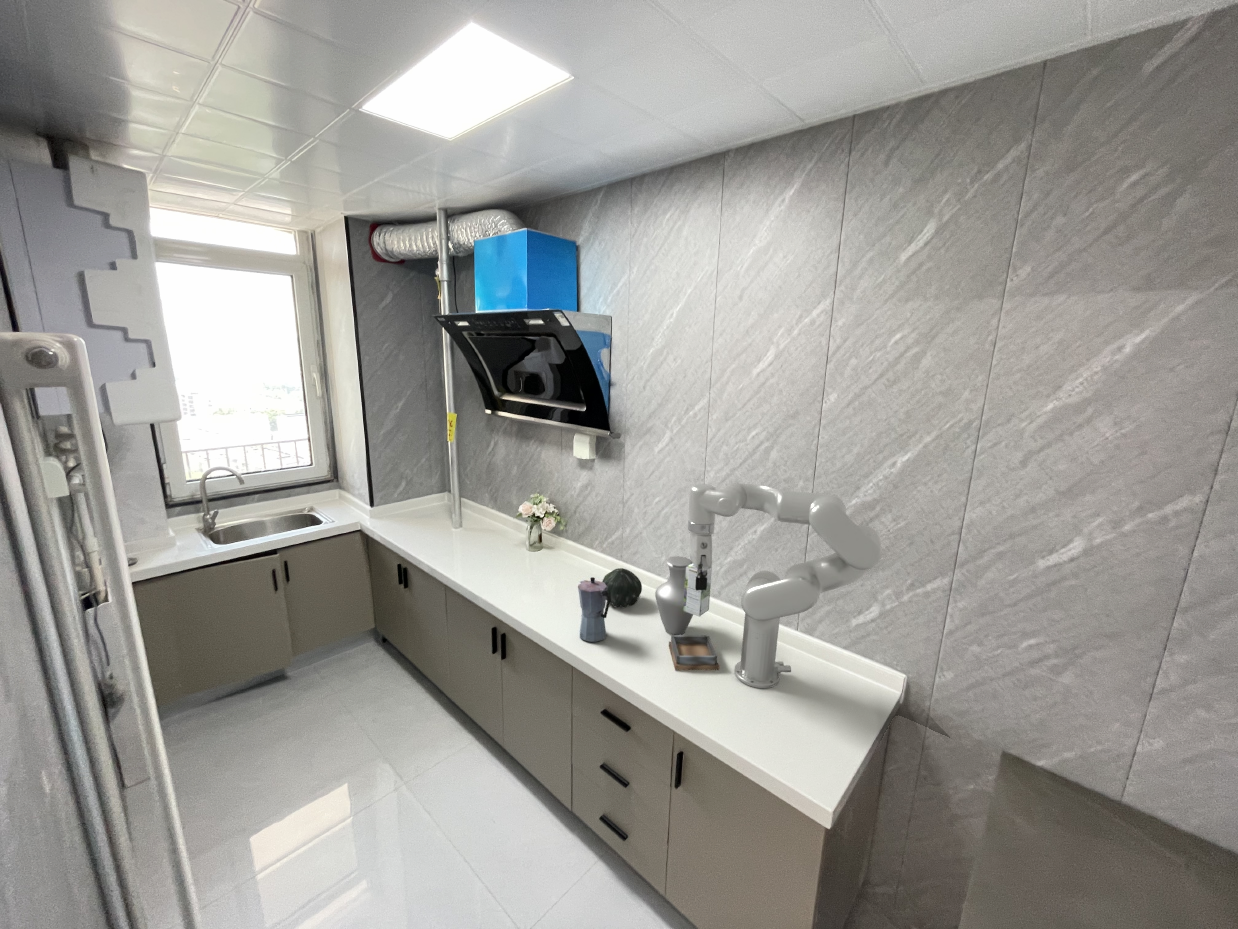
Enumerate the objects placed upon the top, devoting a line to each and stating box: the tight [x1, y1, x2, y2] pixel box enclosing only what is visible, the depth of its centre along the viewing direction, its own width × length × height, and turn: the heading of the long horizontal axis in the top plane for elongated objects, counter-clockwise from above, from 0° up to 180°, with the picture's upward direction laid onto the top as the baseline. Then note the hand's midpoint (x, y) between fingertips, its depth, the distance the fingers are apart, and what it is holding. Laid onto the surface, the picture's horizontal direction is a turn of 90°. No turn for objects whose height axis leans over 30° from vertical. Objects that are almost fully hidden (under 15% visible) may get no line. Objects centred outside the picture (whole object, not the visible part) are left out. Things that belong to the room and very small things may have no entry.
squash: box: [601, 567, 643, 608], centre depth 190 cm, size 14×15×15 cm
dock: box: [668, 634, 720, 671], centre depth 157 cm, size 13×13×4 cm
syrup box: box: [683, 563, 713, 617], centre depth 152 cm, size 6×6×14 cm
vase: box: [654, 555, 694, 636], centre depth 170 cm, size 14×14×25 cm
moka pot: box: [577, 577, 611, 643], centre depth 165 cm, size 10×15×20 cm, turn 44°
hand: (697, 583), depth 152 cm, fingers closed on syrup box, 7 cm apart
